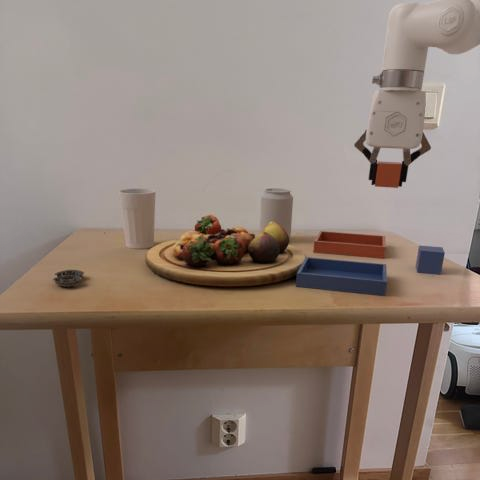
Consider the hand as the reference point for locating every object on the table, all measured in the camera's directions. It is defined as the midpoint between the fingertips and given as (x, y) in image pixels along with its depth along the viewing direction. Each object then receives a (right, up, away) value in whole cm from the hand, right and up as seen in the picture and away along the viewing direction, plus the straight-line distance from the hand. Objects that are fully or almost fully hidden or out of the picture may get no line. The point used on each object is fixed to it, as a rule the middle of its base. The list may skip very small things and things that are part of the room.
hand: (386, 184), depth 96 cm
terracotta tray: (-4, -11, +15) cm, 19 cm away
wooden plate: (-32, -16, +1) cm, 36 cm away
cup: (-52, -10, +14) cm, 55 cm away
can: (-21, -8, +22) cm, 31 cm away
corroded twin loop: (-59, -20, -11) cm, 64 cm away
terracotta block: (0, 0, 0) cm, 0 cm away
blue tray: (-11, -20, -8) cm, 24 cm away
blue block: (+8, -17, 0) cm, 19 cm away
